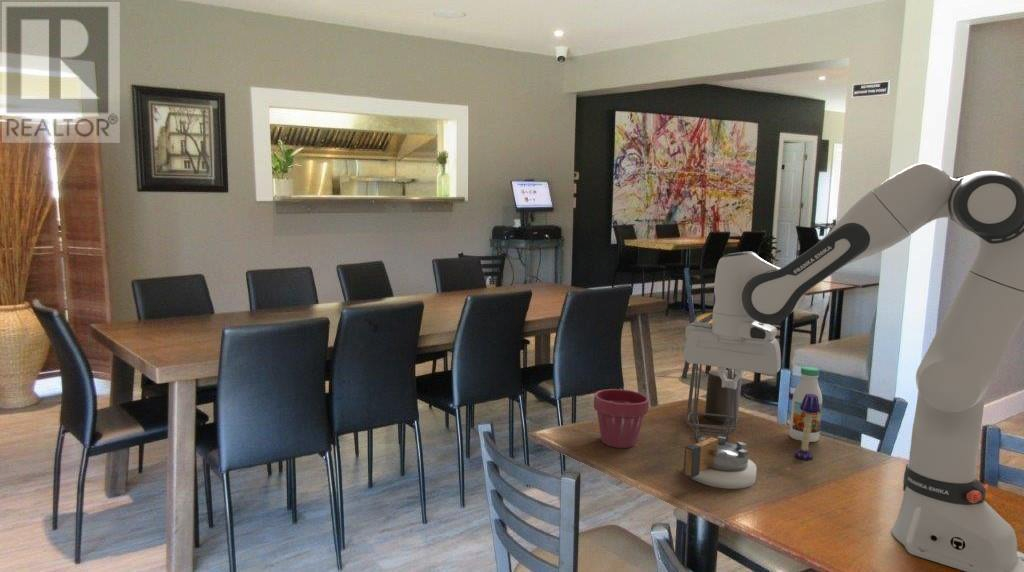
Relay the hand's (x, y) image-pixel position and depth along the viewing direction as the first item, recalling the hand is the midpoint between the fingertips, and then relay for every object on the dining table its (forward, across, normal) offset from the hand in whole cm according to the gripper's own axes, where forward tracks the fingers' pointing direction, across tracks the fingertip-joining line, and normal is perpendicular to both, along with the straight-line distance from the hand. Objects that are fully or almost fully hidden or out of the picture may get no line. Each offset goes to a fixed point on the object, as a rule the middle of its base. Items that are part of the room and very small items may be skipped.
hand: (729, 387), depth 153 cm
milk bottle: (+25, +9, +51) cm, 57 cm away
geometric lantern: (+24, -13, +36) cm, 46 cm away
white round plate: (+24, -3, +10) cm, 27 cm away
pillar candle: (+24, -15, +55) cm, 62 cm away
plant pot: (+24, -32, +17) cm, 43 cm away
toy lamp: (+25, +12, +35) cm, 44 cm away
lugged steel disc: (+21, -4, +6) cm, 22 cm away
